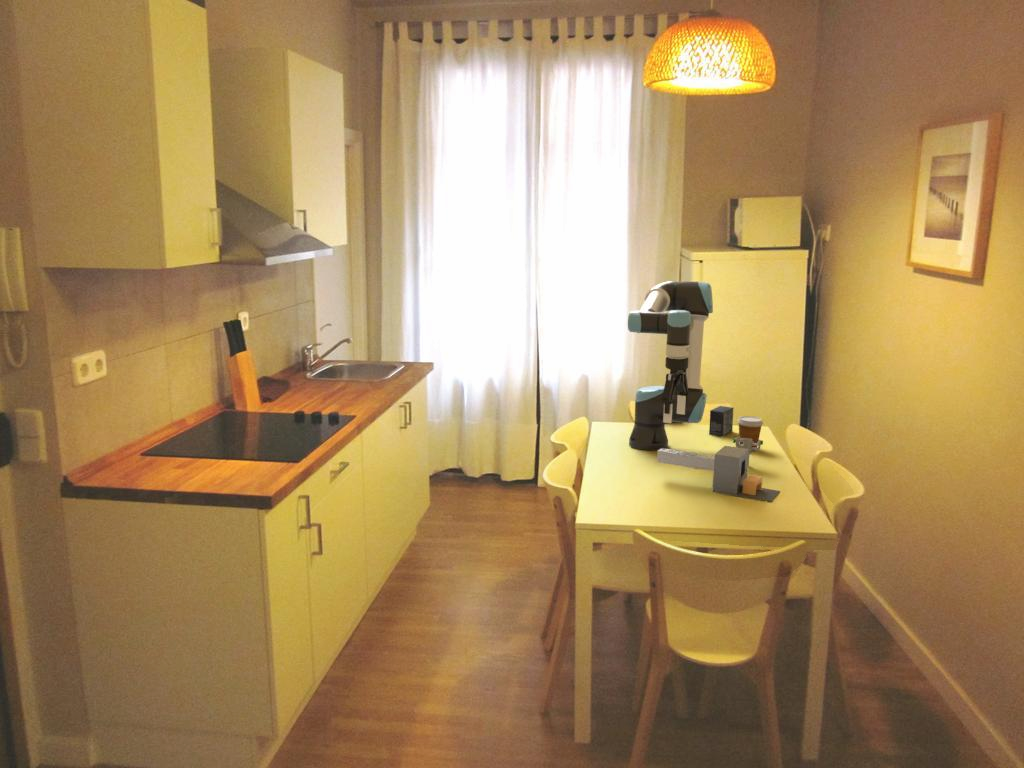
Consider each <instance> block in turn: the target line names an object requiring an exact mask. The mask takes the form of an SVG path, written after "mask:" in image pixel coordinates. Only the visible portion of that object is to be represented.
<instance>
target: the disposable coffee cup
mask: <svg viewBox="0 0 1024 768" xmlns="http://www.w3.org/2000/svg"><path fill="white" fill-rule="evenodd" d="M737 424H738V434H739V435H738V436H739V437H738V438H751V439H752V441H753V443H757V442H758V440H760V434H761V430H762V426H763V424H764V422H763V419H762V418H761V417H757V416H749V415H746V416H745V415H742V416H740V417H738V420H737ZM739 444H743V442H739ZM757 447H758V446H752V448H757ZM752 451H753V450H751V452H752Z"/></svg>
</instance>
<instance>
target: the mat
mask: <svg viewBox="0 0 1024 768" xmlns="http://www.w3.org/2000/svg"><path fill="white" fill-rule="evenodd" d="M780 492H781V491H780V490H777V489H770V488H765V487H762V490H761V491H760V490H756V495H750V494H746V493H743V489H742V490H741V492H740V493H739V494H738V495H737V498H743V499H749V500H755V501H759V500H760V501H761V502H765V501H767V502H766V503H771V502H772V503H773V502H774V500H775V499H776V498H777V496H778V495H779V494H780Z"/></svg>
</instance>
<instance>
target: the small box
mask: <svg viewBox="0 0 1024 768" xmlns="http://www.w3.org/2000/svg"><path fill="white" fill-rule="evenodd" d="M733 419H734V407H732V406H724V405H723V406H722V405H719V406H717V407H715V408H713V409H710V411H709V430H708V434H709V435H710V434H711V436H715V435H716V436H717V437H721V436H723V437H725V436H727V435H728V434H731V433H732V432H733V425H734V424H733V422H734V420H733Z"/></svg>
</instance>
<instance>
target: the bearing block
mask: <svg viewBox="0 0 1024 768" xmlns="http://www.w3.org/2000/svg"><path fill="white" fill-rule="evenodd" d="M748 454H749V449H745V448H738V447H736V446H729V445H724V446H723V447H722V448H720V449H719V450H718V451H717V452H715V453H714V456H715V459H714V471H713V474H712V476H713V478H712V493H713V494H719V495H725V496H726V495H727V496H731V497H737V495H738V494H739V493H740V492H741V490H742V489H743V480H744V479H746V478H747V477H748V469H749V465H748ZM737 498H738V497H737Z"/></svg>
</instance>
